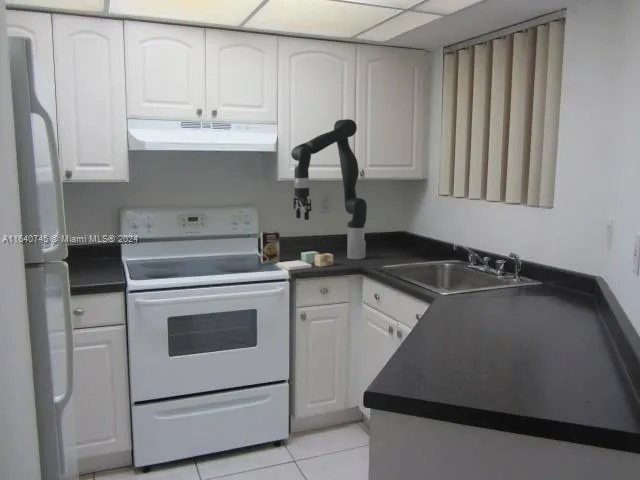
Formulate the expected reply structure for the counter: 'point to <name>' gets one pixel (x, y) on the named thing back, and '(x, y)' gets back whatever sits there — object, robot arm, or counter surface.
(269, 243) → the cookie box
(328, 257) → the maple brick
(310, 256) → the sage brick
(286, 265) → the baseplate
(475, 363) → the counter surface
